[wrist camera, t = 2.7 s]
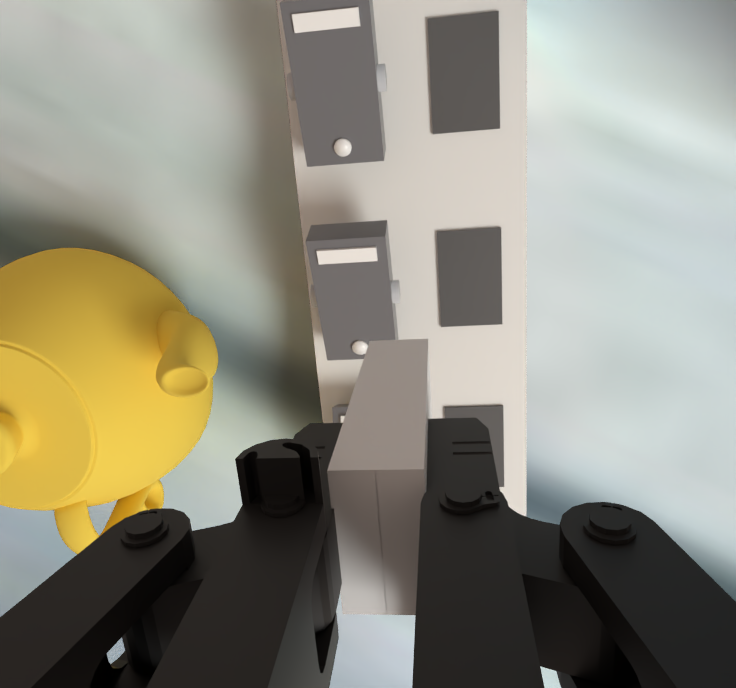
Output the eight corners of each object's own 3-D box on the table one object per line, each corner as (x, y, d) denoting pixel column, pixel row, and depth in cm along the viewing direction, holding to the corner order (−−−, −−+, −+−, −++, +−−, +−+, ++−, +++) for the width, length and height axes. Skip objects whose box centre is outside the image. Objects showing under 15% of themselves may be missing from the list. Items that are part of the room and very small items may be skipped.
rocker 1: (305, 155, 26) (299, 168, 25) (279, -2, 23) (270, 4, 22) (392, 147, 26) (391, 161, 25) (379, -14, 23) (376, -9, 21)
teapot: (45, 517, 39) (-106, 662, 28) (-80, 302, 35) (-310, 374, 24) (336, 433, 35) (291, 564, 24) (231, 179, 31) (121, 199, 20)
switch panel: (341, 490, 36) (329, 535, 32) (289, -8, 28) (264, -34, 24) (517, 487, 35) (528, 535, 30) (515, -34, 27) (530, -67, 23)
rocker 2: (325, 341, 29) (320, 362, 28) (304, 225, 26) (297, 243, 24) (404, 338, 29) (404, 359, 27) (394, 219, 25) (392, 237, 24)
